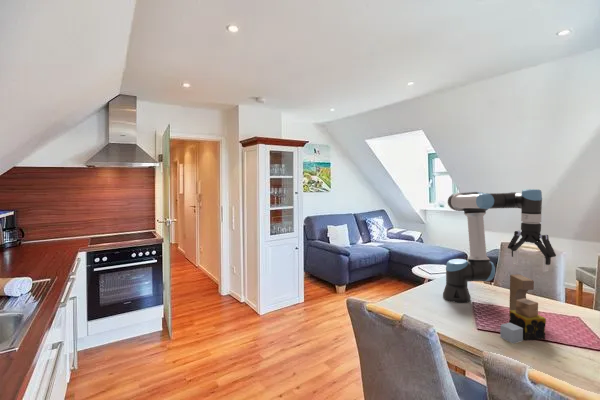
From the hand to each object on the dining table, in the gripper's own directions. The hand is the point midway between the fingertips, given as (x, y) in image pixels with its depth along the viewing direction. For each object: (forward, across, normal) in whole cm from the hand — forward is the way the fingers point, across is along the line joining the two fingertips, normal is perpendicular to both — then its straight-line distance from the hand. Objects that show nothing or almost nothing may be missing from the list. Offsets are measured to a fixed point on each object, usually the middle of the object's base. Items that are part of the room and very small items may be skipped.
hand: (529, 267), depth 147 cm
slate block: (+31, +2, -14) cm, 34 cm away
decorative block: (+31, -14, +15) cm, 37 cm away
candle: (+31, +2, -4) cm, 31 cm away
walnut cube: (+21, +2, -4) cm, 21 cm away
